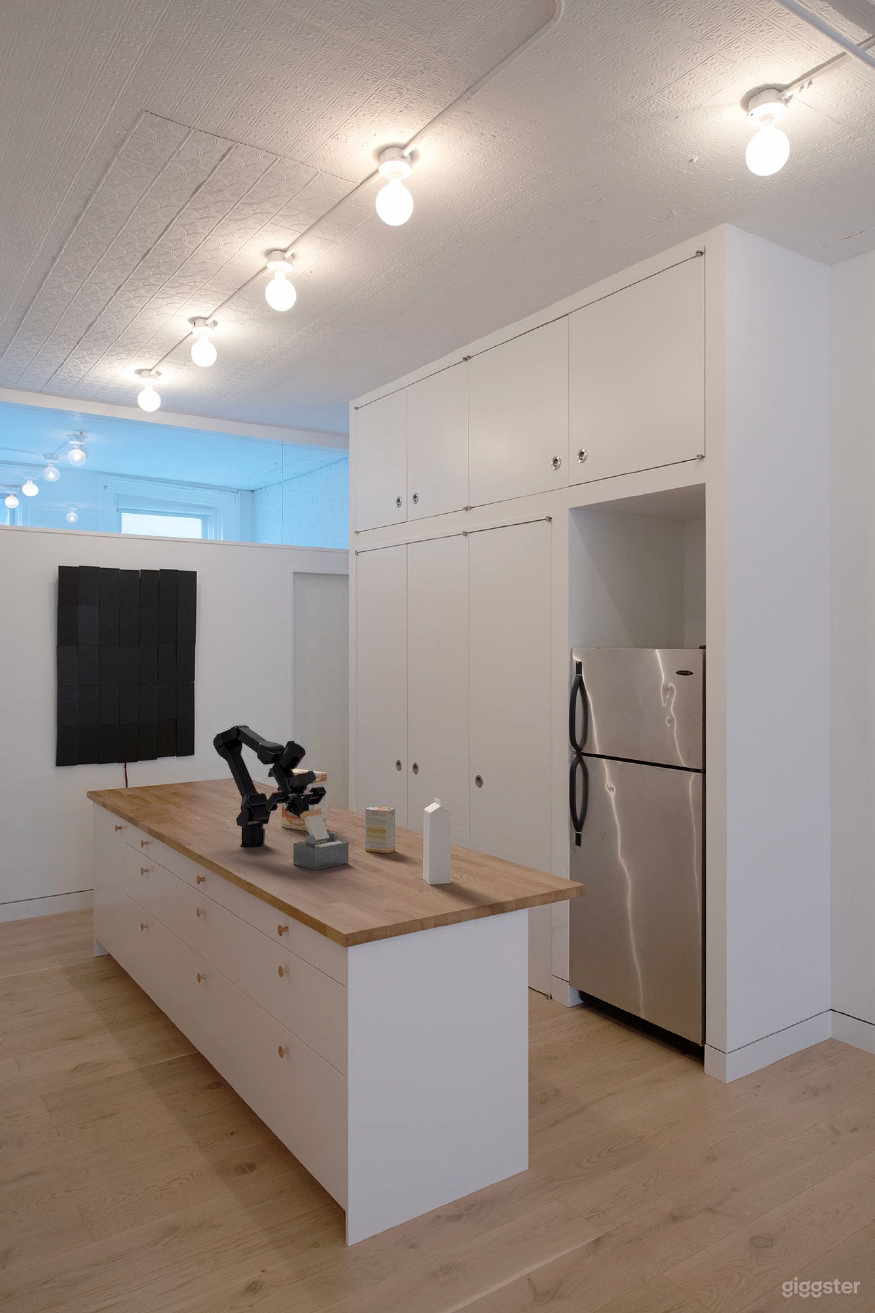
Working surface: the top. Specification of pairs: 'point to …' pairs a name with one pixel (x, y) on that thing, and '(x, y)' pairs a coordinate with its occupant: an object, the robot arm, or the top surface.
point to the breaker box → (320, 852)
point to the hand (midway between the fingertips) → (308, 821)
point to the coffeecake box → (296, 822)
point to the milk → (437, 844)
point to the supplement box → (380, 829)
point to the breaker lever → (315, 824)
